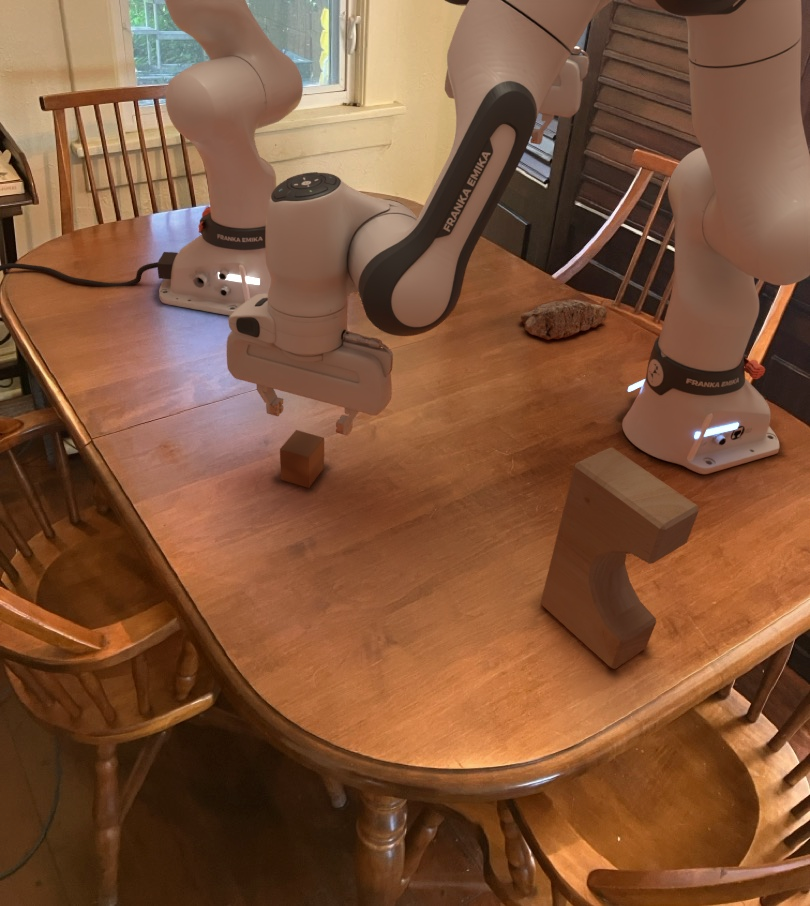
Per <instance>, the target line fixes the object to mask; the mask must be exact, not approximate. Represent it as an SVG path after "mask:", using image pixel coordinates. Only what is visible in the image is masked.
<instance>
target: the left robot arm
mask: <svg viewBox="0 0 810 906" xmlns="http://www.w3.org/2000/svg"><path fill="white" fill-rule="evenodd" d="M444 1H445V2H446V3H449V4H450V5H451V4H452V5H454V6H458V7H459V6H460V7H463V6H464V7H466V5H467V3H468V2H469V0H444ZM164 2H165V5H166V9H167V10H168V14H169V16H170V19H171V20H172V22H173V23H174V25H175V26H176V27H177V28H178V29H179V30H181V31H182V32H183V33H185V34H186V35H188V36H190V37H192V38H193V39H194V40H195V41H196V42H197V43H198V44H199V45H200V46H201V48H202V49H203V51H204V52H205V54H206V55H207V57H208V58H209V59H210V60H205V61H200V62H197V63H194V64H192V65H190V66H188V67H187V68H185V69H184V70H182V71H181V72H179V73H177V74H176V75H174V76H173V77H172V78H171V79H170V81H169V82H168V83H167V87H166V90H165V107H166V112H167V115H168V117H169V120H170V122H171V123H172V125H173V127H174V128H175V129H176V130H177V132H178V133H179V134H180V135H182V137H183V138H185V139H186V140H187V141H189V142H190V143H191V144H192V145H193V146H194V147H195V149H196V151H197V152H198V155H199V156H200V159H201V162H202V164H203V167H204V171H205V174H206V175H205V176H206V180H207V190H208V197H209V206H207V207H205V209H204V210H203V212H202V214H201V218H200V219H199V224H198V234H200V235H199V236H198V237H196V238H195V239H193V240H191V241H190V242H189V243H187V244H186V245H184V246H183V247H182V248H181V249H180V250H179V251H178V252H176V251H175V252H174V251H173V252H172V251H163V252H162V254H161V256H160V258H159V260H158V261H157V262H152V263H151V262H150V263H147V264H144V265H142V266H140V267H139V268H138V269H137V271H136V275H135V278H134V279H131V280H129V281H128V280H127V281H125V282H117V283H116V282H103V281H99V280H92V279H86V278H79V277H73V276H70V275H67V274H65V273H63V272H60V271H59V270H56V269H54V268H51V267H48V266H43V265H35V264H34V265H33V264H26V263H16V262H15V263H13V262H10V263H3V264H0V272H2V271H4V270H5V271H6V270H8V269H10V270H11V269H20V270H21V269H22V270H28V271H34V272H35V271H36V272H43V273H48V274H50V275H53V276H54V277H55V276H56V277H57V278H60V279H62V280H64V281H67V282H70V283H74V284H80V285H87V286H92V287H99V288H111V287H131V286H135V285H137V284H139V283H140V282H141V280H142V276H143V273H144V272H146V271H149V270H151V269H157V276H158V279H160V280H161V279H162V281H161V283H160V286H159V289H158V297H159V300H160V301H161V303H162V304H165V305H169V306H175V307H180V308H186V309H192V310H197V311H202V312H208V313H213V314H219V315H225V316H228V317H230V315H231V314H232V313H233V312H234V311H235V310H236V309H237V308H238V307H239V306H241V305H242V304H243V303H245V302H246V301H247V300H249V299H250V298H252V297H253V296H255V295H257V294H264V293H268V291H269V287H270V281H271V280H270V274H269V271H268V268H267V264H266V249H265V231H266V215H267V207H268V203H269V199H270V196H271V194H272V192H273V191H274V189H275V188H276V187H277V174H276V171H275V169H274V167H273V165H272V164H270V162H268V161H267V160H266V159H265V158H263V157H261V156H260V153H259V150H258V148H257V143H256V139H255V137H256V135H255V134H256V131H257V130H259V129H261V128H265V127H268V126H270V125H274V124H276V123H279V122H280V121H282V120H283V119H285V118H286V117H287V116H289V115H290V114H291V113H292V112H293V111H294V110H296V109H297V108H298V106H299V105H300V103H301V101H302V97H303V91H304V85H303V79H302V75H301V73H300V72H301V71H300V70H299V68H298V66H297V65H296V63H295V61H294V60H292V58H291V57H290V56H288V55H287V54H286V53H284V52H283V51H281V50H280V49H279V48H278V47H276V45H274V43H273V42H272V41H271V40H270V39H269V37H268V36H267V35H266V33H265V31H264V30H263V29H262V27H261V26H260V24H259V23H258V21H257V19H256V18H255V16H254V15H253V12H252V11H251V9H250V7H249V5H248V3H247V1H246V0H164ZM589 67H590V57H589V54H588V53H587V52H586V51H585V50H583V49H582V46H579V45H576V46H575V48H574V49H573V51H572V53H570V56H569V57H568V59H567V61H566V62H565V64H564V66H563V67H562V69H561V71H560V72H559V74H558V76H557V77H556V79H555V81H554V83H553V84H552V86H551V88H550V90H549V92H548V94H547V96H546V98H545V100H544V102H543V104H542V107H541V109H540V111H539V113H540V114H541V121H542V122H544V123H543V124H542V125H541V126H540V128H534V129H533V132H532V135H531V138H530V140H529V143H530V144H535V145H541V144H542V142H543V139H544V138H543V137H544V132H545V130H546V129H547V128H548V127H549V126H550V124H551V123H552V121H553V120H554V117H555V116H556V117H563V118H568V119H569V118H572V117H573V116H575V114H577V113H578V111H579V110H580V108H581V102H582V94H583V93H582V92H583V81H584V80H585V79H586V77H587V76H588V71H589ZM444 92H445V94H446V96H447V98H449V99H453V100H454V95H453V90H452V86H451V83H450V79H449V75H448V67H447V68H446V74H445V80H444Z"/></svg>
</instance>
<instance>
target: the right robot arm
mask: <svg viewBox="0 0 810 906" xmlns="http://www.w3.org/2000/svg"><path fill="white" fill-rule="evenodd" d="M612 1H613V0H469V2H468V3H467V5H466V6H464V9H463V11H462V13H461V15H460V17H459V19H458V22H457V23H456V27H455V29H454V32H453V35H452V38H451V41H450V44H449V46H448V49H447V54H446V63H447V64H446V65H447V66H446V67H447V68H448V75H449V79H450V83H451V86H452V90H453V95H454V99H453V100H454V105H455V106H454V108H455V119H456V120H455V134H454V138H453V143H452V147H451V150H450V153H449V155H448V157H447V160H446V161H445V163H444V165H443V166H442V169H441V171H440V173H439V175H438V177H437V179H436V180H435V182H434V184H433V187H432V189H431V191H430V192H429V195H428V197H427V198H426V200H425V202H424V205H423V206H422V208H421V210H420V212H419V214H418V216H417V215H416V214H415V213H414V212H413V211H412V210H411V209H410V208H409V207H408V206H406V205H405V204H403V203H402V202H399V201H397V200H394V199H391V198H380V197H377V196H373V195H368V194H367V193H364V192H362V191H359V190H358V189H355V188H353V187H352V186H350V185H349V184H347V183H346V182H344V181H343V180H342V179H341V178H340V177H338V176H337V175H335V174H333V173H329V172H317V171H314V172H311V171H310V172H304V173H300V174H296V175H293V176H290V177H288V178H286V179H285V180H284V181H282V182H281V183H279V184H278V185H276V188H275V189H274V191H273V192H272V194H271V196H270V199H269V203H268V207H267V215H266V231H265V249H266V264H267V268H268V271H269V274H270V280H271V281H270V287H269V291H268V293H264V294H257V295H255V296H253V297H252V298H250V299H249V300H247V301H246V302H245V303H243V304H242V305H241V306H239V307H238V308H237V309H236V310H235V311H234V312H233V313H232V314H231V315H230V316H228V328H229V329H230V331H231V332H230V333H228V336H227V340H226V365H227V370H228V372H229V374H231V376H232V377H233V378H234V379H236V380H239V381H243V382H248V383H250V384H254V385H256V391H257V393H258V394H259V396H260V398H261V399H262V400H263V402H264V403H265V408H266V414H267V415H270V416H274V417H279V416H280V415H281V414H282V413H283V411H284V405H283V404H284V398H281V397H279V396H277V393H276V391H275V390H277V391H280V392H284V393H288V394H292V395H296V396H300V397H303V398H306V399H310V400H314V401H318V402H322V403H325V404H329V405H332V406H337V407H341V408H343V409H344V414H346V415H344V414H341V415H340V417H339V419H337V420H336V422H335V427H336V429H335V433H336V434H339V435H343V436H349V435H350V434H351V433H352V431H353V427H354V426H353V425H354V419H355V418H356V416H357V415H358V414H359V413H362V414H367V415H370V416H378V415H379V414H381V413H382V412H383V411H384V410H385V409H386V408H387V406H388V405H389V404H390V402H391V401H392V395H393V391H392V390H393V388H392V387H393V386H392V384H393V383H392V370H393V366H394V365H393V363H394V354H393V351H392V350H391V349H390V348H389V346H388V345H386V344H384V343H383V340H382V339H380V338H377V337H373V336H371V337H369V336H365V335H362V334H360V333H357V332H352V331H349V330H348V305H349V303H348V301H349V300H348V299H349V296H350V295H351V294H352V293H358V294H359V298H360V301H361V304H362V307H363V310H364V312H365V315H366V317H367V318H368V320H369V322H370V323H371V324H372V325H373V326H375V328H376V329H378V330H380V331H381V332H384V333H385V334H388V335H391V336H397V337H413V336H414V337H415V336H417V335H421V334H425V333H427V332H429V331H431V330H433V329H435V328H436V327H438V326H439V325H441V324H442V323H443V322H444V321H446V320H447V319H448V318H449V316H450V315H452V313H453V312H454V309H455V308H456V306H457V304H458V302H459V299H460V296H461V293H462V289H463V284H464V280H465V275H466V272H467V271H466V270H467V268H468V264H469V261H470V258H471V256H472V254H473V252H474V250H475V248H476V246H477V244H478V242H479V240H480V238H481V236H482V234H483V233H484V231H485V229H486V227H487V225H488V223H489V222H490V220H491V218H492V216H493V214H494V212H495V210H496V208H497V207H498V205H499V203H500V200H501V198H502V197H503V195H504V193H505V192H506V190H507V188H508V186H509V184H510V182H511V180H512V178H513V176H514V174H515V172H516V171H517V168H518V166H519V164H520V163H521V160H522V158H523V156H524V155H525V152H526V150H527V147H528V145H529V143H530V141H531V138H532V136H531V135H532V132H533V130H534V129H535V126H536V123H537V119H538V116H539V111H540V109H541V107H542V104H543V102H544V100H545V98H546V96H547V94H548V92H549V90H550V88H551V86H552V84H553V83H554V81H555V79H556V77H557V76H558V74H559V72H560V71H561V69H562V67H563V66H564V64H565V62H566V61H567V59H568V57H569V56H570V54H571V53H572V51H573V49H574V48H575V46H577V44H578V42H579V41H580V40H581V37H582V36H583V34H584V33H585V31H586V29H587V27H588V25H589V23H590V22H591V21H592V20H593V19H594V18H595V17H596V15H597V14H598V13H599V12H600V11H601V10H602V9H603V8H605V6H607V5H608V4H610V3H611V2H612ZM622 1H623V2H624V3H627V4H629V5H632V6H634V7H637V8H640V9H644V10H656V11H664V12H668V13H670V14H672V15H675V16H681V17H684V18H685V20H686V21H685V22H686V25H687V54H688V55H687V56H688V73H689V74H688V75H689V76H688V77H689V92H690V93H689V94H690V114H691V125H692V129H693V132H694V136H695V138H696V140H697V142H698V143H699V145H700V147H698V148H696V149H694V150H692V151H691V152H689V153H688V154H687V155H685V156H684V157H683V158H682V159H681V160H680V161H679V163H678V164H677V165H676V167H675V168H674V169H673V172H672V173H671V175H670V178H669V181H668V186H667V197H668V201H669V205H670V208H671V212H672V216H673V217H672V218H673V225H674V261H673V280H672V286H671V287H672V288H671V292H670V298H669V301H668V305H667V309H666V312H665V317H664V320H663V324H662V327H661V330H660V334H659V336H658V337H656V339H655V341H654V343H653V346H652V349H651V353H650V357H649V359H648V362H647V368H646V369H647V370H646V376H645V379H642V380H640V381H637V382H635V383H633V384H631V385H629V386H628V388H627V392H628V393H629V392H632V391H635V390H636V389H638V388H640V389H639V392H638V394H637V396H636V398H635V400H634V402H633V403H632V405H631V406H630V408H629V410H628V411H627V413H626V414H625V416H624V417H623V419H622V423H621V426H622V430H623V433H624V435H625V437H626V438H627V439H628V440H629V441H630V443H631V444H632V445H634V446H635V447H636V448H638V449H639V450H641V451H642V452H644V453H646V454H647V455H649V456H652V457H655V458H657V459H659V460H662V461H665V462H668V463H672V464H677V465H679V466H682V467H684V468H687V469H688V470H690V471H692V472H694V473H698V474H700V475H708V474H712V473H715V472H719V471H722V470H726V469H729V468H733V467H737V466H739V465H743V464H746V463H749V462H753V461H757V460H760V459H764V458H766V457H770V456H774V455H777V454H778V453H779V450H780V441H779V438H778V436H777V435H776V433H775V431H774V430H773V429H772V428H771V426H770V424H771V419H772V417H771V416H772V415H771V408H770V406H769V403H768V402H767V401H766V400H767V396H765V395H764V394H762V393H760V392H759V391H758V390H757V388H755V387H754V386H753V385H752V384H751V382H749V380H748V379H746V373H747V374H748V375H749V376H750V378H752V379H753V380H758V379H760V378H761V377H763V376H764V374H765V371H766V368H765V366H763V365H762V364H760V363H759V361H757V360H756V359H752V360H749V359H748V355H747V354H745V352H746V350H747V346H748V344H749V342H750V338H751V335H752V333H753V330H754V328H755V324H756V323H757V319H758V317H759V314H760V299H759V298H760V297H759V294H758V291H757V287H756V284H755V279H757V280H759V281H763V282H765V283H769V284H771V285H773V286H789V285H793V284H794V285H795V284H796V283H799V282H801V281H803V280H805V279H807V278H808V277H810V151H809V147H808V142H807V138H806V133H805V129H804V128H805V127H804V123H803V116H802V106H801V104H802V103H801V76H802V75H801V72H802V71H801V69H802V68H801V66H802V30H803V29H802V28H803V25H802V23H803V21H802V20H803V16H802V14H803V13H802V0H622Z"/></svg>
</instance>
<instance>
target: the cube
mask: <svg viewBox="0 0 810 906" xmlns="http://www.w3.org/2000/svg"><path fill="white" fill-rule="evenodd" d="M279 465H280V466H279V468H280V480H281V481H284V482H286V483H290V484H293V485H296V486H297V485H298V486H301V487H304V488H308V489H310V487H311V486H312V484H314V482H315V480H316V479H317V478H318V477H319V475H320V474H321V473H322V471H323V470H324V469H325V437H323V436H319V435H316V434H312V433H309V432H306V431H302V430H298V429H295V431H294V432H293V433H292V434H291V435H290V437H288V438H287V440H286V441H285V443H283V444H282V445H281V447H280V448H279Z"/></svg>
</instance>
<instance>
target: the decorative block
mask: <svg viewBox="0 0 810 906" xmlns="http://www.w3.org/2000/svg"><path fill="white" fill-rule="evenodd" d="M699 511H700V508H699V506H698V505H697V504H696V503H695V502H693V501H691V500H690V499H688V498H687V497H685V495H682V494H681V493H680V492H678V491H677V490H675V489H674V488H672V487H671V486H669V485H668V484H666V483H665V482H663V481H662V480H660V479H659V478H658V477H656V476H655V475H654V474H652V473H651V472H648V471H647V470H646V469H645V468H643V467H642V466H640V465H639V464H637V463H636V462H634V461H633V460H631V459H630V458H629V457H627V456H626V455H624V454H622V453H621V452H620V451H618V450H617V449H615V448H614V447H613V446H611V447H608V448H606V449H604V450H601V451H599V452H597V453H595V454H593V455H591V456H589V457H586V458H584V459H582V460H580V461H578V462H576V463H574V466H573V471H572V475H571V478H570V483H569V486H568V490H567V494H566V499H565V503H564V507H563V510H562V515H561V519H560V523H559V527H558V531H557V535H556V539H555V542H554V547H553V550H552V553H551V554H552V555H551V559H550V563H549V568H548V571H547V574H546V575H547V576H546V579H545V582H544V587H543V591H542V594H541V599H540V605H541V606H542V607H543V608H544V609H546V610H547V612H549V613H550V614H551V615H552V616H553V617H554V618H555V619H557V621H558V622H559V623H561V624H562V625H563V626H564V627H565V628H566V629H567V630H568V631H570V632H571V633H572V634H573V635H574V636H575V637H576V638H577V639H578V640H580V642H581V643H583V644H584V645H585V646H586V647H587V648H588V649H590V650H591V651H592V652H593V654H595V655H596V656H597V657H598V658H599V659H601V661H603V662H604V663H605V664H606V665H607V666H608V667H609V668H610V669H617V668H619V667H620V666H622V665H624V664H625V663H626V662H628V661H629V660H631V659H632V658H634V657H635V656H637V655H638V654H640V653H641V652H642V651H644V650H645V649H647V647H648V644H649V642H650V639H651V637H652V635H653V632H654V629H655V627H656V624H657V618H656V616H655V615H653V613H652V612H651V611H650V610H649V609H648V608H647V607H646V606H645V605H644V604H643V602H642V601H641V600H640V598H639V596H638V594H637V592H636V590H635V589H634V587H633V585H632V583H631V580H630V576H629V573H628V570H627V566H626V560H627V554H628V555H632V556H634V557H636V558H638V559H640V560H642V561H644V562H645V563H647V564H649V565H651V564H654V563H656V562H658V561H659V560H661V559H663V558H664V557H666V556H668V555H670V554H671V553H672V552H674V551H676V550H678V549H679V548H681V547H682V546H684V545H686V544H688V540H689V537H690V536H691V532H692V530H693V527H694V525H695V523H696V520H697V517H698V514H699Z"/></svg>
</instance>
